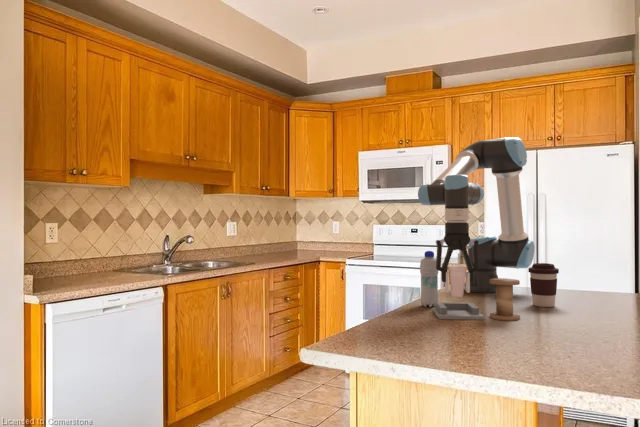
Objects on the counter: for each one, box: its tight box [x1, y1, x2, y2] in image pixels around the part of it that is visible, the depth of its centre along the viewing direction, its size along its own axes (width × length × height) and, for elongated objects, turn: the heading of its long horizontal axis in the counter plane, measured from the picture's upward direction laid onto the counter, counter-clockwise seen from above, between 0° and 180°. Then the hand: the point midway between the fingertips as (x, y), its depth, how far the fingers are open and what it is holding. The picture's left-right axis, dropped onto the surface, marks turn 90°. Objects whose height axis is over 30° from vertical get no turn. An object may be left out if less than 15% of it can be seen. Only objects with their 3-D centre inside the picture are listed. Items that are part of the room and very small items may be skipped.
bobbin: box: [489, 277, 521, 322], centre depth 156 cm, size 9×9×12 cm
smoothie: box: [446, 253, 468, 298], centre depth 161 cm, size 6×6×14 cm
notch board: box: [432, 301, 486, 321], centre depth 161 cm, size 14×14×3 cm
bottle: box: [419, 250, 439, 308], centre depth 177 cm, size 7×7×20 cm
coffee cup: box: [527, 262, 560, 308], centre depth 176 cm, size 10×10×15 cm
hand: (457, 291), depth 161 cm, fingers closed on smoothie, 6 cm apart
